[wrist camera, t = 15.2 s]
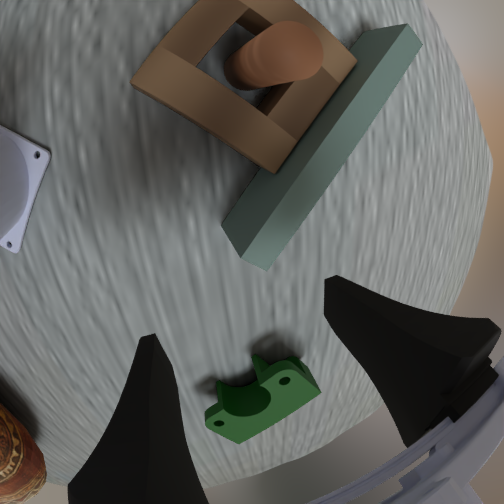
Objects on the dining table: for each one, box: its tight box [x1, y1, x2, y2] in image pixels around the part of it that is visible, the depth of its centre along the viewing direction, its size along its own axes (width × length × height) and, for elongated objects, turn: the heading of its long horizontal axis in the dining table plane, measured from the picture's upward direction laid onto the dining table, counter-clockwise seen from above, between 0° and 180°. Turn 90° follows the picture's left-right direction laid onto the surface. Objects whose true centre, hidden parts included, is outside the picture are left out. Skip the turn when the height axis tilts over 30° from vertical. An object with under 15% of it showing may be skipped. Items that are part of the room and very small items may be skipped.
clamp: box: [205, 354, 322, 444], centre depth 27 cm, size 12×6×9 cm, turn 121°
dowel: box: [224, 21, 324, 91], centre depth 13 cm, size 3×3×7 cm
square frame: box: [130, 0, 358, 174], centre depth 14 cm, size 10×10×3 cm
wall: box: [221, 24, 423, 271], centre depth 16 cm, size 2×20×5 cm, turn 144°
